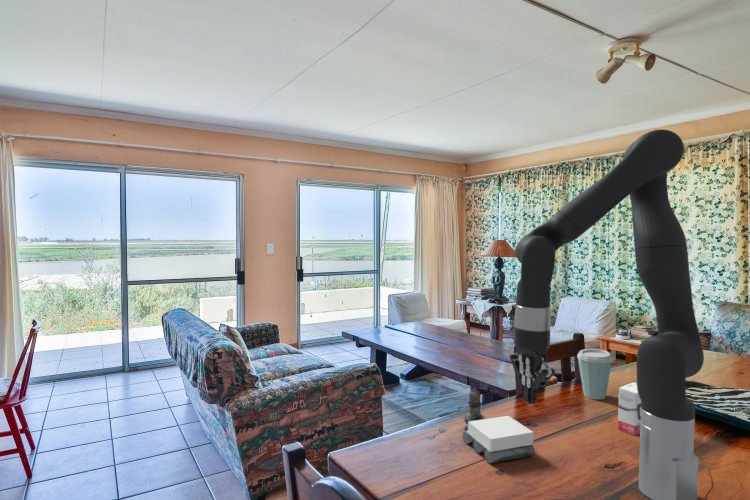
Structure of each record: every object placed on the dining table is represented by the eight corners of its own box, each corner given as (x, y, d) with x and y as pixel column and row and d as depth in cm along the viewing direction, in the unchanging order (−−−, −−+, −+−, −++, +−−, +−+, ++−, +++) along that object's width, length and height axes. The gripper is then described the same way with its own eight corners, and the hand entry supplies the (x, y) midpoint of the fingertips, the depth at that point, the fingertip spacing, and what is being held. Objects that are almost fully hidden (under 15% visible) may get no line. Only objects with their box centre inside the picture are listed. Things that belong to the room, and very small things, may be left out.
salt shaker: (469, 423, 123) (470, 381, 123) (488, 429, 120) (489, 386, 119) (459, 430, 119) (460, 387, 118) (479, 437, 115) (480, 392, 115)
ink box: (635, 436, 116) (637, 392, 116) (616, 429, 120) (618, 387, 120) (651, 428, 121) (652, 386, 120) (632, 422, 125) (633, 381, 125)
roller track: (534, 457, 104) (534, 445, 104) (491, 465, 101) (491, 453, 100) (502, 434, 117) (502, 423, 117) (462, 440, 113) (462, 429, 113)
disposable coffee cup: (603, 404, 138) (604, 357, 137) (570, 395, 146) (571, 350, 145) (617, 397, 144) (618, 352, 144) (584, 388, 153) (585, 345, 152)
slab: (533, 444, 105) (533, 432, 105) (490, 452, 101) (490, 439, 101) (508, 426, 114) (508, 415, 114) (467, 433, 110) (468, 421, 110)
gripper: (567, 331, 91) (565, 412, 92) (527, 318, 104) (525, 390, 105) (537, 333, 89) (535, 416, 90) (500, 320, 101) (498, 393, 102)
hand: (529, 402), depth 97 cm, fingers closed
